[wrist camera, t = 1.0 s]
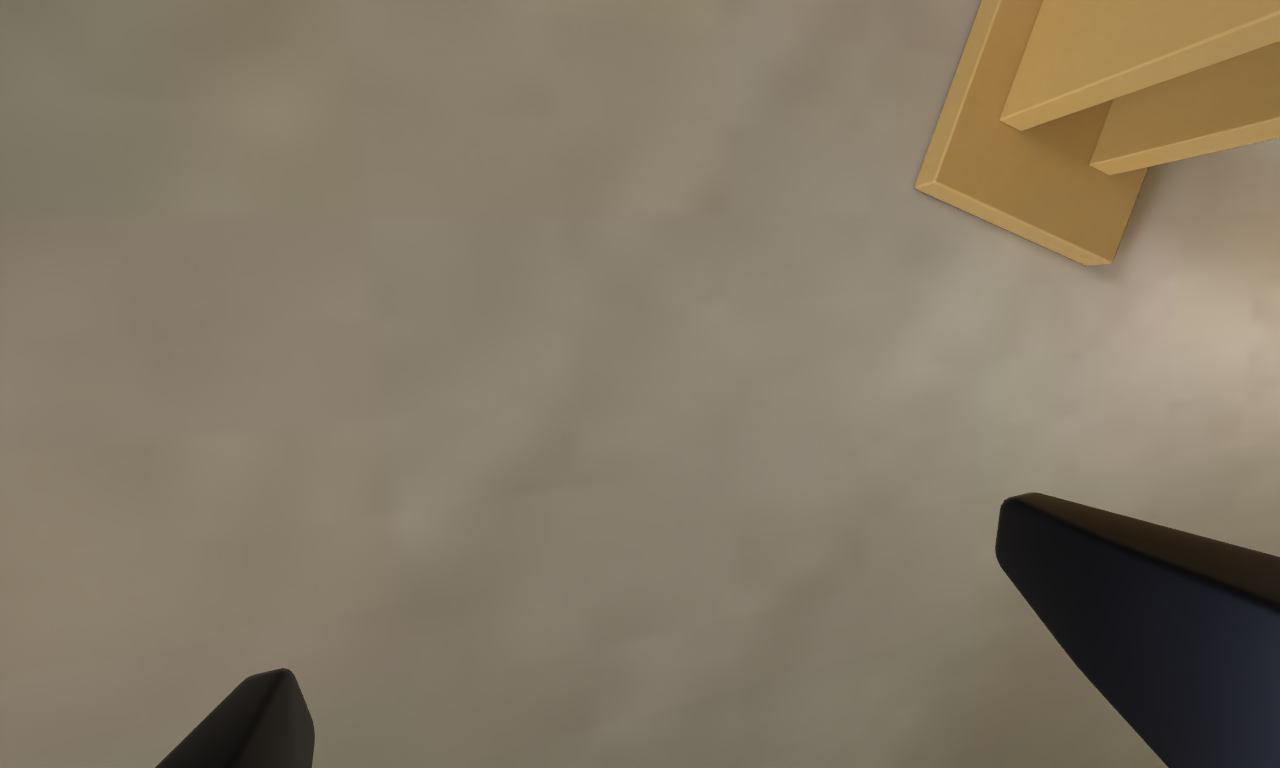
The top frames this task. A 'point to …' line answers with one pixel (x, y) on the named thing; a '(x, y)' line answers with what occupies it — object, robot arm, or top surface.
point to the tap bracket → (1096, 109)
